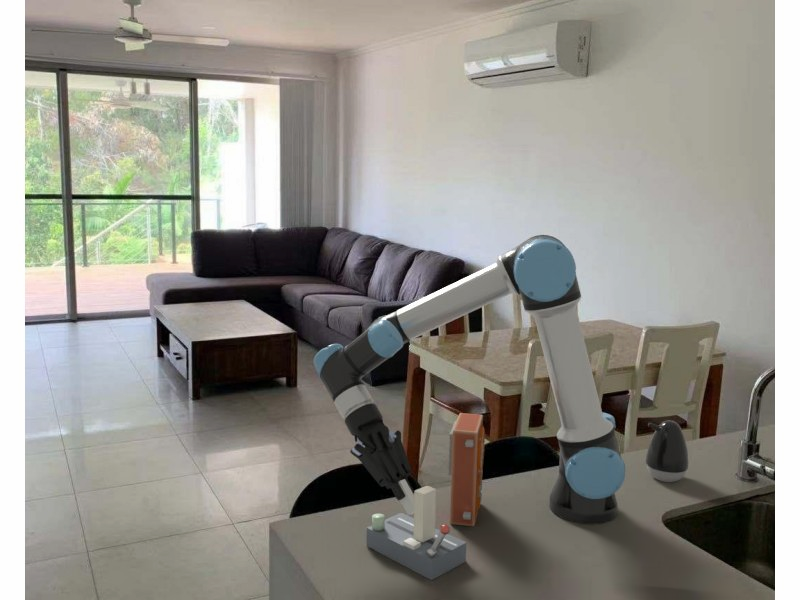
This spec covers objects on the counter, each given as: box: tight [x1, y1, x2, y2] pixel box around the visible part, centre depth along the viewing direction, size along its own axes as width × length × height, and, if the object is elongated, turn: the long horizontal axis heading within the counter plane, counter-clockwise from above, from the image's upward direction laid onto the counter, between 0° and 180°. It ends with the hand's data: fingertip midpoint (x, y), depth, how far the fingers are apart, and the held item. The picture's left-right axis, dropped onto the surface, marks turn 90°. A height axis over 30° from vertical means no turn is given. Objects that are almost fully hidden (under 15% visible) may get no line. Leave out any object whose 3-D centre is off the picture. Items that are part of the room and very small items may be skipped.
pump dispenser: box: [645, 420, 689, 483], centre depth 188 cm, size 10×10×15 cm
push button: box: [371, 513, 386, 531], centre depth 150 cm, size 3×3×2 cm
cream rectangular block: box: [413, 485, 437, 543], centre depth 146 cm, size 2×4×10 cm, turn 136°
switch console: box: [366, 512, 467, 581], centre depth 149 cm, size 18×10×5 cm, turn 45°
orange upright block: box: [447, 412, 486, 527], centre depth 166 cm, size 21×7×15 cm
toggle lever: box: [426, 524, 451, 557], centre depth 139 cm, size 2×2×8 cm
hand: (414, 511), depth 147 cm, fingers closed
